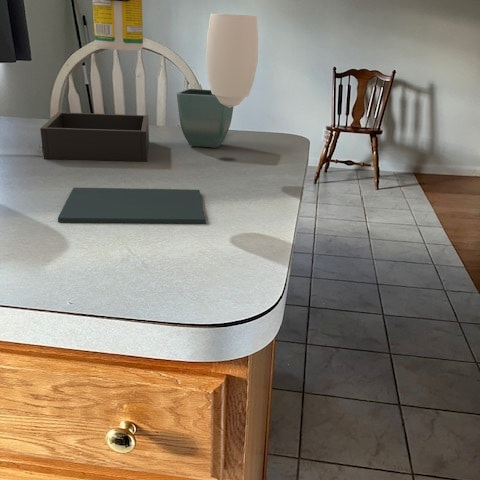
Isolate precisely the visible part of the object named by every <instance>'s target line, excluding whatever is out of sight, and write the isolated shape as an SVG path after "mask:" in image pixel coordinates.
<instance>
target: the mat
mask: <svg viewBox="0 0 480 480" xmlns="http://www.w3.org/2000/svg"><path fill="white" fill-rule="evenodd" d="M57 222H58V223H100V224H101V223H103V224H104V223H105V224H107V223H109V224H110V223H111V224H112V223H113V224H198V225H199V224H207V219H206V214H205V209H204V204H203V200H202V195H201V191H200V189H188V188H187V189H185V188H182V189H180V188H130V187H129V188H128V187H123V188H122V187H73V188H72V190H71V192H70V193H69V195H68V197H67V199H66V201H65V203H64V205H63V206H62V209H61V211H60V213H59V215H58V216H57Z"/></svg>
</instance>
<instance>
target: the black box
mask: <svg viewBox="0 0 480 480" xmlns="http://www.w3.org/2000/svg"><path fill="white" fill-rule="evenodd" d="M149 120H150V119H149V115H148V114H147V115H145V114H123V113H122V114H119V113H117V114H116V113H95V112H94V113H92V112H91V113H89V112H65V111H64V112H63V111H60V112H59V111H57V112H56V113H55V114H54V115H52V117H51V118H50V119H48V121H47V122H45V123H44V124H43V125H42V126H41V127H40V129H39V130H40V137H41V138H40V139H41V146H42V147H41V148H42V154H43V160H73V161H76V160H77V161H114V162H118V161H119V162H120V161H121V162H148V156H149V155H148V154H149V145H150V124H149V123H150V122H149Z"/></svg>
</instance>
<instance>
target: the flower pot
mask: <svg viewBox="0 0 480 480" xmlns="http://www.w3.org/2000/svg"><path fill="white" fill-rule="evenodd" d="M176 100H177V101H176V102H177V109H178V111H177V112H178V119H179V124H180V128H181V131H182V134H183V136H184V139H185V140H186V142H187V143H188V145H189V146H191V147H204V148H212V149H216V148H218V147H219V146H221V145H222V144H223V142H224V141H225V139H226V136H227V135H228V132H229V129H230V127H231V123H232V119H233V114H234V106H233V107H231V108H229V107H227V106H225V105H223V104H221V103H220V102H219V100H218V99H217V97H216V96H215V95H213V94H212V93H211V89H201V88H186V89H183V90H181V91H178V92H176Z"/></svg>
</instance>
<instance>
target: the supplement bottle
mask: <svg viewBox="0 0 480 480" xmlns="http://www.w3.org/2000/svg"><path fill="white" fill-rule="evenodd" d="M91 2H92V15H93V16H92V17H93V18H92V19H93V31H94V32H93V34H94V46H95V47H96V48H98V49H103V50H110V51H111V50H113V51H114V50H115V51H141V50H142V49H143V47H144V28H143V27H144V24H143V21H144V20H143V0H130V1H128V2H125V1H110V0H92V1H91Z"/></svg>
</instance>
